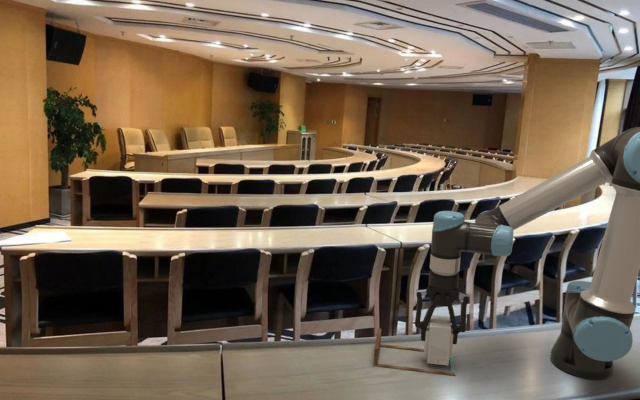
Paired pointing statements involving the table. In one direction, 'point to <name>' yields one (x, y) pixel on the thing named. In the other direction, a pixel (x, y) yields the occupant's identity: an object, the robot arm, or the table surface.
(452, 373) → the bay
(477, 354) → the table surface
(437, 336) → the small box
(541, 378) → the table surface
